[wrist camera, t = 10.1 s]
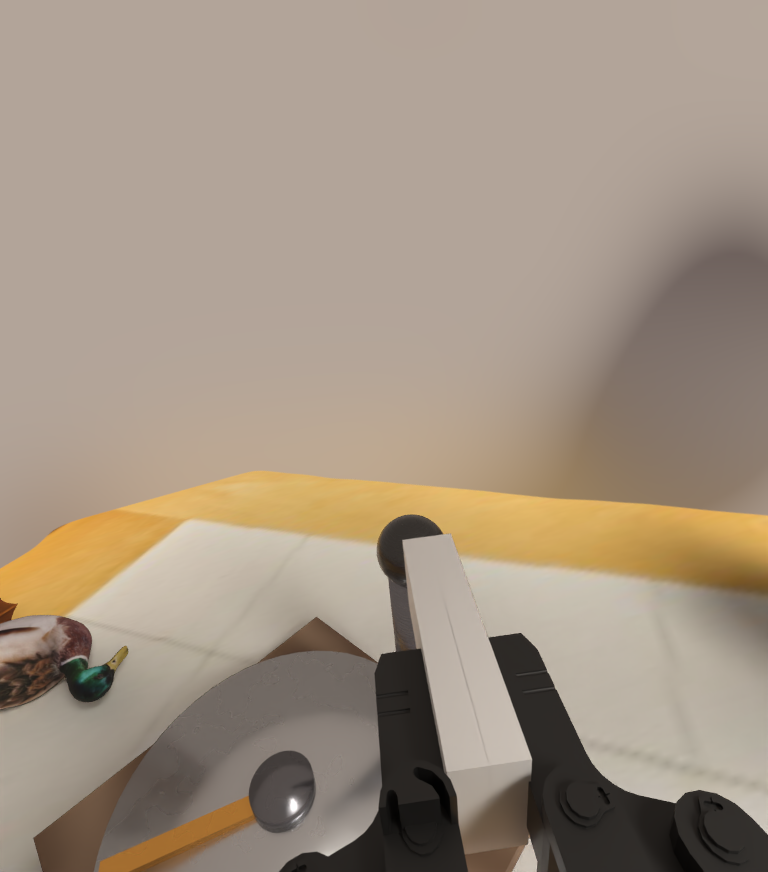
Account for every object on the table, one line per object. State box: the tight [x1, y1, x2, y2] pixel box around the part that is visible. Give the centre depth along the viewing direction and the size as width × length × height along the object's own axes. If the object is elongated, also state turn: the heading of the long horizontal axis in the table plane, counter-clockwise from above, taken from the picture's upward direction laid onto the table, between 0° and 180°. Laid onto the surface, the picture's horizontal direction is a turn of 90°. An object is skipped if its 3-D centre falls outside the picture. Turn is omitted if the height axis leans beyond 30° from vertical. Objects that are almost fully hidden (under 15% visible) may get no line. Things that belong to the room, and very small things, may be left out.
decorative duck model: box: [0, 598, 128, 709], centre depth 38 cm, size 15×8×15 cm
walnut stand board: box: [34, 617, 530, 872], centre depth 29 cm, size 24×24×4 cm
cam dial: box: [94, 515, 443, 872], centre depth 26 cm, size 23×22×19 cm
